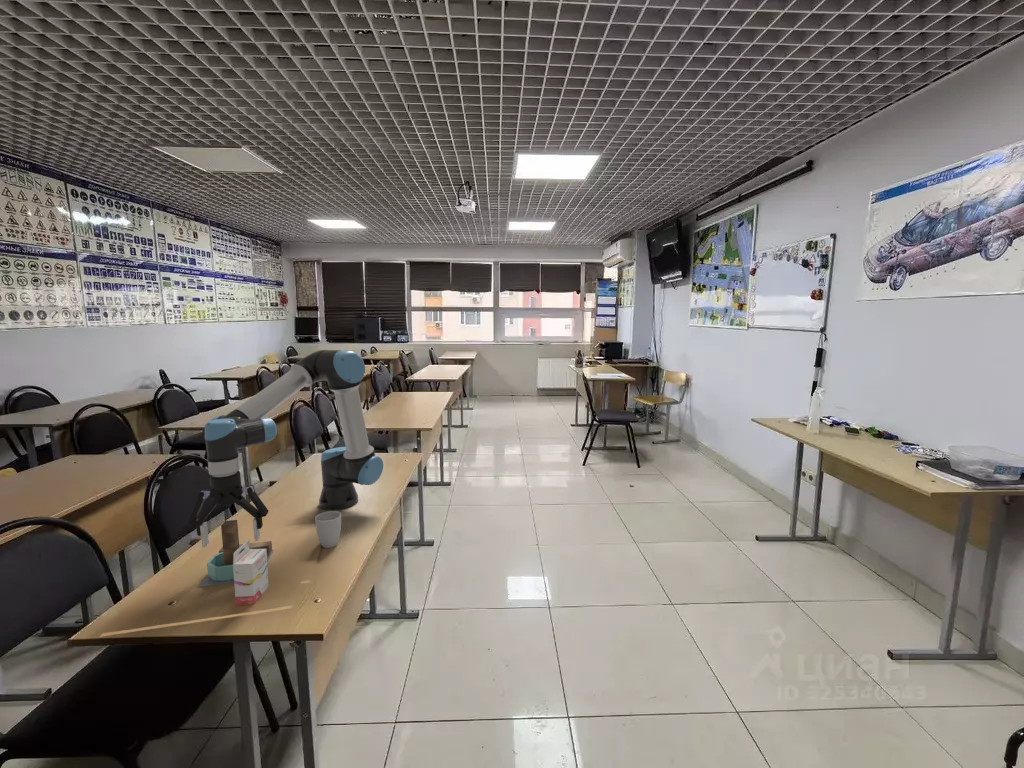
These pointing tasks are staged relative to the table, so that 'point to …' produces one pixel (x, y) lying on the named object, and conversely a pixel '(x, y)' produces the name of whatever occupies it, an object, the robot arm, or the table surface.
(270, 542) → the long wooden bar
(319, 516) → the cup
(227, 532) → the brown wooden block
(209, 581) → the slate board
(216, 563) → the teal octagonal bowl
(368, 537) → the table surface
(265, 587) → the ink cartridge box
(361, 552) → the table surface
